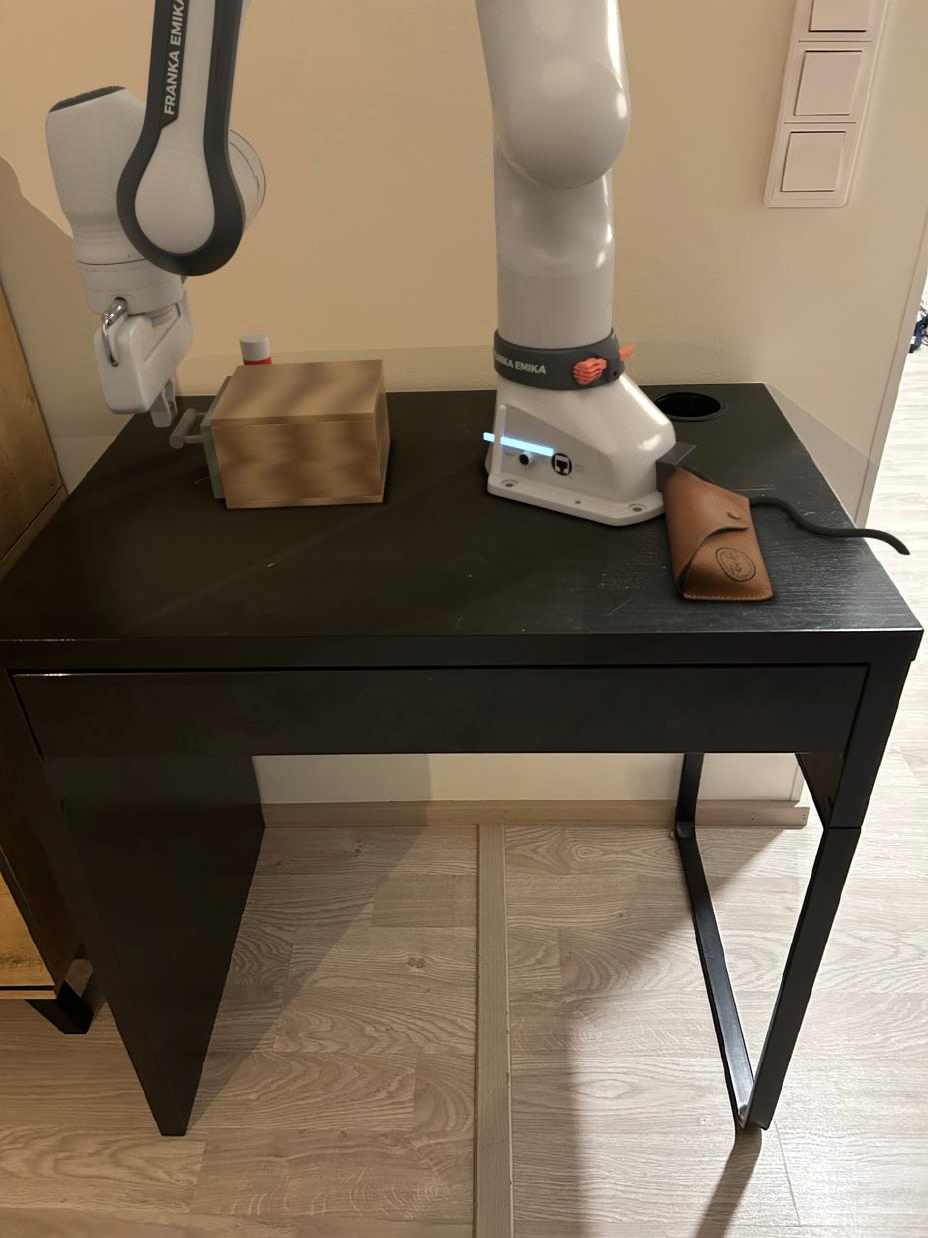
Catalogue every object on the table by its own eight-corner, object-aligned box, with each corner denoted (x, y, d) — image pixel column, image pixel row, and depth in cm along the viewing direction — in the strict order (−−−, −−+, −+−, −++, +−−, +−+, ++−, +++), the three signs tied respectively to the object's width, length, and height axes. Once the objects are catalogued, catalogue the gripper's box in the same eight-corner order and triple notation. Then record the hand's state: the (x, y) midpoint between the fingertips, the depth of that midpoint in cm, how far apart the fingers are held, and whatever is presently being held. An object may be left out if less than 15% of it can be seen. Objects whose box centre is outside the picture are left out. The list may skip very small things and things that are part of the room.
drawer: (171, 500, 96) (154, 427, 91) (200, 444, 107) (186, 377, 102) (358, 492, 95) (350, 419, 91) (368, 437, 107) (361, 370, 102)
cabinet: (227, 509, 96) (208, 418, 90) (252, 447, 108) (237, 365, 102) (382, 502, 95) (373, 412, 90) (390, 442, 107) (382, 358, 102)
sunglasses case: (781, 597, 78) (748, 535, 75) (700, 631, 80) (665, 572, 77) (747, 495, 92) (719, 439, 89) (680, 526, 95) (650, 473, 92)
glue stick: (286, 419, 114) (273, 336, 109) (264, 427, 112) (250, 344, 107) (270, 412, 116) (256, 331, 110) (248, 421, 114) (233, 338, 109)
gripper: (135, 315, 82) (172, 463, 89) (189, 255, 98) (217, 383, 106) (62, 320, 82) (106, 467, 90) (129, 258, 99) (161, 387, 106)
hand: (166, 421), depth 98 cm, fingers closed
